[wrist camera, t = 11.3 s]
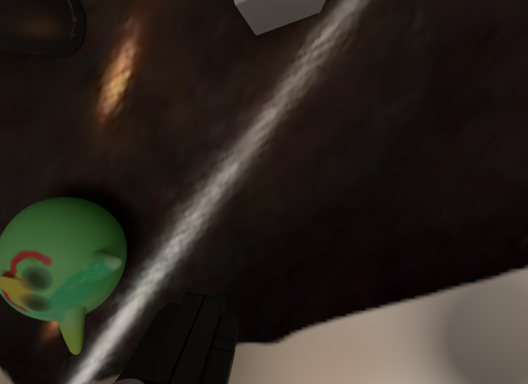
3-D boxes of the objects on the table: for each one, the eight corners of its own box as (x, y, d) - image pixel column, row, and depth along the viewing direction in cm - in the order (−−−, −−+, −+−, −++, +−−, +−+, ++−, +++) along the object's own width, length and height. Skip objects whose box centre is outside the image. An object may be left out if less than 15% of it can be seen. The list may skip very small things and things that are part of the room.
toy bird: (62, 166, 44) (-42, 202, 30) (164, 215, 45) (109, 270, 31) (41, 255, 50) (-54, 319, 36) (131, 296, 51) (73, 373, 38)
